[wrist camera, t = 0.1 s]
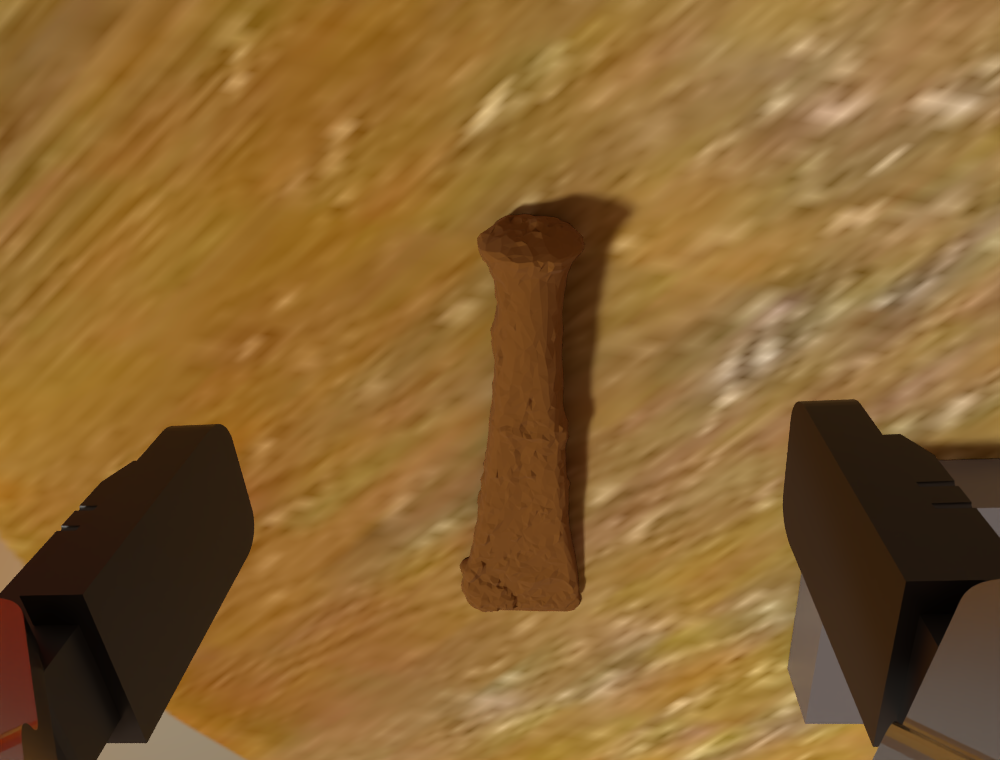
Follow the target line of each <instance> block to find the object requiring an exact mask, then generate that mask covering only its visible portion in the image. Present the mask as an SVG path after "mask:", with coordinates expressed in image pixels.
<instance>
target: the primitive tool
mask: <svg viewBox="0 0 1000 760" xmlns="http://www.w3.org/2000/svg"><path fill="white" fill-rule="evenodd" d="M477 241H478V248H479V252H480V255H481V257H482V259H483V261H485V262H486V263H487V265H488V267H489V270H490V273H491V275H492V277H493V279H494V284H495V297H496V299H497V308H496V313H495V319H494V322H493V324H492V327H491V335H492V341H491V343H492V349H493V354H494V359H495V366H494V380H493V383H492V388H493V395H492V405H491V411H490V418H489V433H488V441H487V450H486V452H485V461H484V463H483V465H484V473H483V475H482V477H481V483H482V485H481V490H480V492H479V494H478V502H477V503H478V518H477V523H476V526H475V531H474V540H473V544H472V548H471V552H470V556H469V557H468V558H467V559H464V560H463V561H462V562H461V564H460V569H461V572H462V573H463V579H462V584H461V586H462V591H463V593H464V594H465V596H466V599H467V601H468V602H469V604H470V605H471V606H473V607H474V608H476V609H479V610H480V611H482V612H487V611H490V612H492V611H498V610H524V611H571V610H574V609H575V608H576V607H577V606H578V605H579V603H580V594H579V580H578V570H577V563H576V557H575V551H574V546H573V543H572V536H571V531H570V524H569V513H568V507H569V496H568V490H569V486H570V481H569V480H568V478H567V474H566V472H567V468H566V450H565V446H566V442H567V440H568V438H569V435H568V419H567V418H566V415H565V411H564V407H563V383H564V376H563V365H562V346H563V344H562V337H563V330H564V329H563V322H562V311H563V300H564V293H565V288H566V282H567V274H568V272H569V269H570V267H571V265H572V263H573V261H574V260H575V258H576V257H578V256H579V255H580V253H581V252H582V251H583V250H584V245H585V244H584V242H583V237H582V236H581V235H580V234H579V232H578V231H577V230H575V229H574V228H573V227H572V226H571V225H570V224H569V223H566V222H563V221H561V220H560V219H558V218H555V217H548V216H533V215H531V214H521V215H507V216H505V217H503V218H501V219H499V220H498V221H496V222H495V224H494V225H493V226H491V227H490V228H489V229H487V230H486V231H484V232H483V233H481V234H480V235H479V237H478V238H477Z"/></svg>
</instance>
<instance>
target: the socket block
mask: <svg viewBox="0 0 1000 760" xmlns="http://www.w3.org/2000/svg"><path fill="white" fill-rule="evenodd" d="M939 462H940V463H941V464H942V465H943V467H944V468H945V469H946V470H947V472H948V473H949V474H950V475H951V477H952V478H953V479H954V480H955V486H959V487H960V488H961V489H962V491H963V492H964V493H965V494H966V496H967V497H968V498H969V499H970V501H971V502H972V503H971V504H972V508H977V509H978V511H979V512H980V513H981V515H982V516H983V517H984V518H985V520H986V521H987V522H988V523H989V525H990V526H991V527H992V528H993V530H994V531H995V532H996V533H997V535H998V536H999V537H1000V459H971V460H939ZM788 671H789V675H790V678H791V681H792V684H793V687H794V690H795V693H796V697H797V700H798V703H799V706H800V709H801V712H802V715H803V718H804V722H805V724H864V723H863V721H862V719H861V716H860V714H859V711H858V709H857V706H856V704H855V702H854V699H853V697H852V694H851V692H850V689H849V687H848V685H847V682H846V680H845V677H844V675H843V672H842V670H841V668H840V665H839V663H838V660H837V658H836V655H835V653H834V651H833V648H832V646H831V643H830V641H829V638H828V636H827V634H826V631H825V629H824V626H823V624H822V621H821V619H820V617H819V614H818V612H817V609H816V607H815V604H814V602H813V600H812V597H811V595H810V592H809V590H808V587H807V585H806V583H805V580H804V578H803V575H802V574H801V581H800V588H799V595H798V601H797V608H796V615H795V622H794V629H793V635H792V642H791V649H790V656H789V662H788Z"/></svg>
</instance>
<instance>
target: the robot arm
mask: <svg viewBox="0 0 1000 760" xmlns="http://www.w3.org/2000/svg"><path fill="white" fill-rule="evenodd" d="M971 503H972V502H971V501H970V499H969V498H968V497H967V496H966V494H965V493H964V492H963V491H962V489H961V488H960V487H959V486H955V480H954V479H953V478H952V477H951V475H950V474H949V473H948V472H947V470H946V469H945V468H944V467H943V465H942V464H941V463H940V462H939V460H938V459H937V458H936V457H935V455H933V454H932V453H930V452H928V451H927V450H925V449H924V448H922V447H920V446H919V445H917V444H916V443H914V442H912V441H911V440H909V439H908V438H906V437H904V436H903V435H901V434H892V435H882V433H881V432H880V431H879V429H878V428H877V426H876V425H875V424H874V422H873V421H872V419H871V418H870V417H869V415H868V414H867V412H866V411H865V410H864V408H863V407H862V405H861V404H860V403H859V402H858V401H857V400H854V399H850V400H825V401H801V402H797V403H796V404H795V405H794V407H793V410H792V415H791V422H790V432H789V442H788V452H787V462H786V472H785V483H784V493H783V515H784V524H785V529H786V534H787V538H788V541H789V544H790V546H791V549H792V551H793V553H794V556H795V558H796V561H797V563H798V566H799V568H800V570H801V573H802V575H803V578H804V580H805V583H806V585H807V587H808V590H809V592H810V595H811V597H812V600H813V602H814V604H815V607H816V609H817V612H818V614H819V617H820V619H821V621H822V624H823V626H824V629H825V631H826V634H827V636H828V638H829V641H830V643H831V646H832V648H833V651H834V653H835V655H836V658H837V660H838V663H839V665H840V668H841V670H842V672H843V675H844V677H845V680H846V682H847V685H848V687H849V689H850V692H851V694H852V697H853V699H854V702H855V704H856V706H857V709H858V711H859V714H860V716H861V719H862V721H863V723H864V726H865V728H866V731H867V733H868V736H869V738H870V740H871V743H872V745H873V747H878V749H877V752H876V754H875V756H874V758H873V760H1000V537H999V536H998V535H997V533H996V532H995V531H994V530H993V528H992V527H991V526H990V525H989V523H988V522H987V521H986V520H985V518H984V517H983V516H982V515H981V513H980V512H979V511H978V509H977V508H972V504H971ZM61 527H62V529H61V531H56V532H55V533H54V535H53V536H52V537H51V538H50V539H49V540H48V541H47V542H46V543H45V544H44V546H43V547H42V548H41V549H40V550H39V551H38V552H37V553H36V554H35V555H34V557H33V558H32V559H31V560H30V561H29V562H28V563H27V564H26V565H25V566H24V568H23V569H22V570H21V571H20V572H19V573H18V574H17V575H16V576H15V577H14V579H13V580H12V581H11V582H10V583H9V584H8V585H7V586H6V587H5V588H4V590H3V591H2V592H1V593H0V760H97V758H98V756H99V755H100V753H101V751H102V750H103V748H104V746H105V745H106V743H147V742H148V740H149V738H150V736H151V734H152V733H153V731H154V729H155V727H156V725H157V723H158V721H159V720H160V718H161V716H162V714H163V712H164V710H165V708H166V707H167V705H168V703H169V701H170V699H171V697H172V695H173V694H174V692H175V690H176V688H177V686H178V684H179V682H180V681H181V679H182V677H183V675H184V673H185V671H186V669H187V668H188V666H189V664H190V662H191V660H192V658H193V656H194V655H195V653H196V651H197V649H198V647H199V645H200V643H201V642H202V640H203V638H204V636H205V634H206V632H207V630H208V629H209V627H210V625H211V623H212V621H213V619H214V617H215V616H216V614H217V612H218V610H219V608H220V606H221V604H222V603H223V601H224V599H225V597H226V595H227V593H228V591H229V590H230V588H231V586H232V584H233V582H234V580H235V578H236V577H237V575H238V573H239V571H240V569H241V567H242V565H243V564H244V562H245V560H246V558H247V556H248V554H249V552H250V549H251V546H252V542H253V535H254V517H253V511H252V507H251V504H250V500H249V497H248V493H247V490H246V486H245V482H244V479H243V475H242V472H241V468H240V465H239V461H238V458H237V454H236V451H235V447H234V444H233V440H232V437H231V435H230V433H229V431H228V430H227V428H226V427H225V426H223V425H221V424H210V425H186V426H170V427H168V428H166V429H165V430H164V431H163V432H162V433H161V434H160V435H159V436H158V437H157V438H156V440H155V441H154V442H153V443H152V444H151V445H150V446H149V448H148V449H147V450H146V451H145V452H144V453H143V454H142V456H141V457H140V458H139V459H138V460H137V461H133V462H131V463H130V464H128V465H127V466H125V467H124V468H122V469H120V470H119V471H117V472H116V473H114V474H113V475H111V476H110V477H108V478H107V479H105V480H104V481H102V482H101V483H100V484H99V485H98V486H97V487H96V488H95V489H94V491H93V492H92V493H91V494H90V495H89V496H88V497H87V498H86V499H85V500H84V502H83V503H82V504H81V505H80V510H79V511H74V513H73V514H72V515H71V516H70V517H69V518H68V519H67V520H66V521H65V522H64V524H63V525H62V526H61Z"/></svg>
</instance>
